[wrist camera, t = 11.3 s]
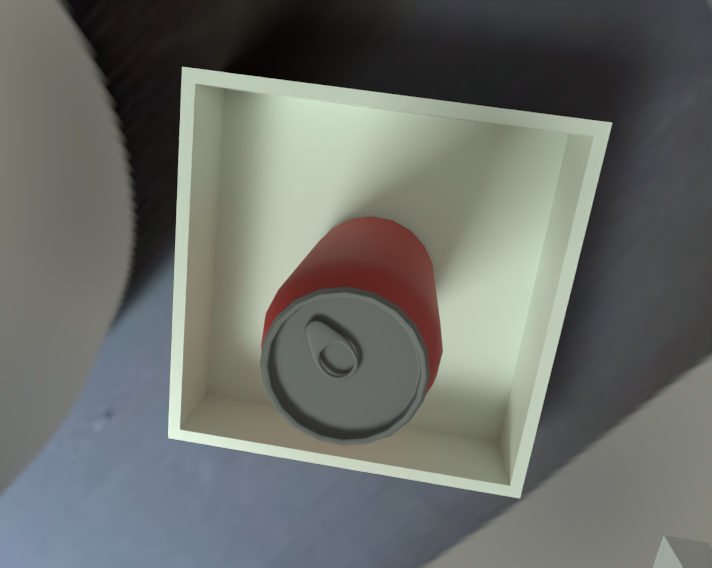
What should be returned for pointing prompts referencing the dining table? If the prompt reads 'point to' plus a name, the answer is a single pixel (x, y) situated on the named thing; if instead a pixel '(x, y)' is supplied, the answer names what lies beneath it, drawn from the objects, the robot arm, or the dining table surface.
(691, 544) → the robot arm
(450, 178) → the bin
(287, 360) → the beer can
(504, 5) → the dining table surface
